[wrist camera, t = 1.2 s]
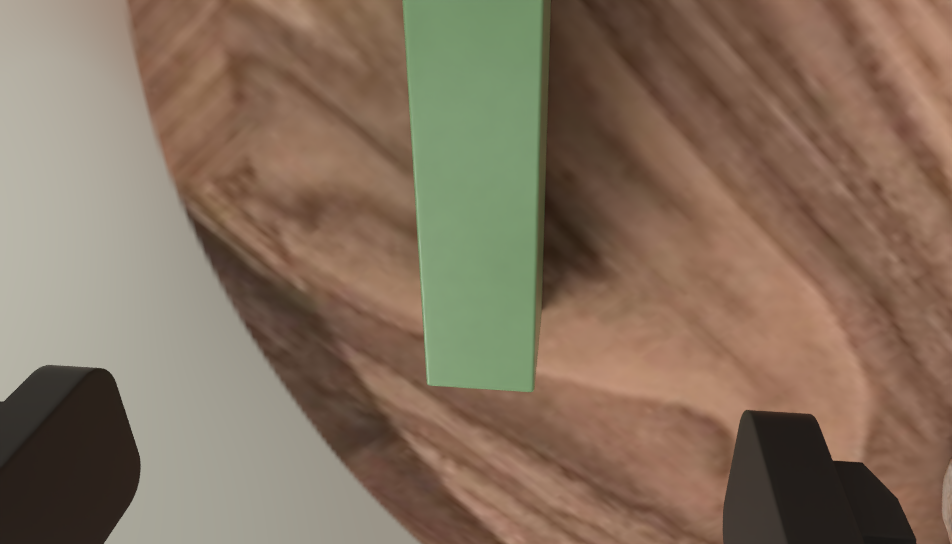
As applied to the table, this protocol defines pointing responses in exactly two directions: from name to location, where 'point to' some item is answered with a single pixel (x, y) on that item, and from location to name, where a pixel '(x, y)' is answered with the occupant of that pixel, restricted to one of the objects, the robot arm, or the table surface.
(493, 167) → the bar
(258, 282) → the table surface
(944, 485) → the sculpture
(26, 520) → the robot arm
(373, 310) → the table surface
